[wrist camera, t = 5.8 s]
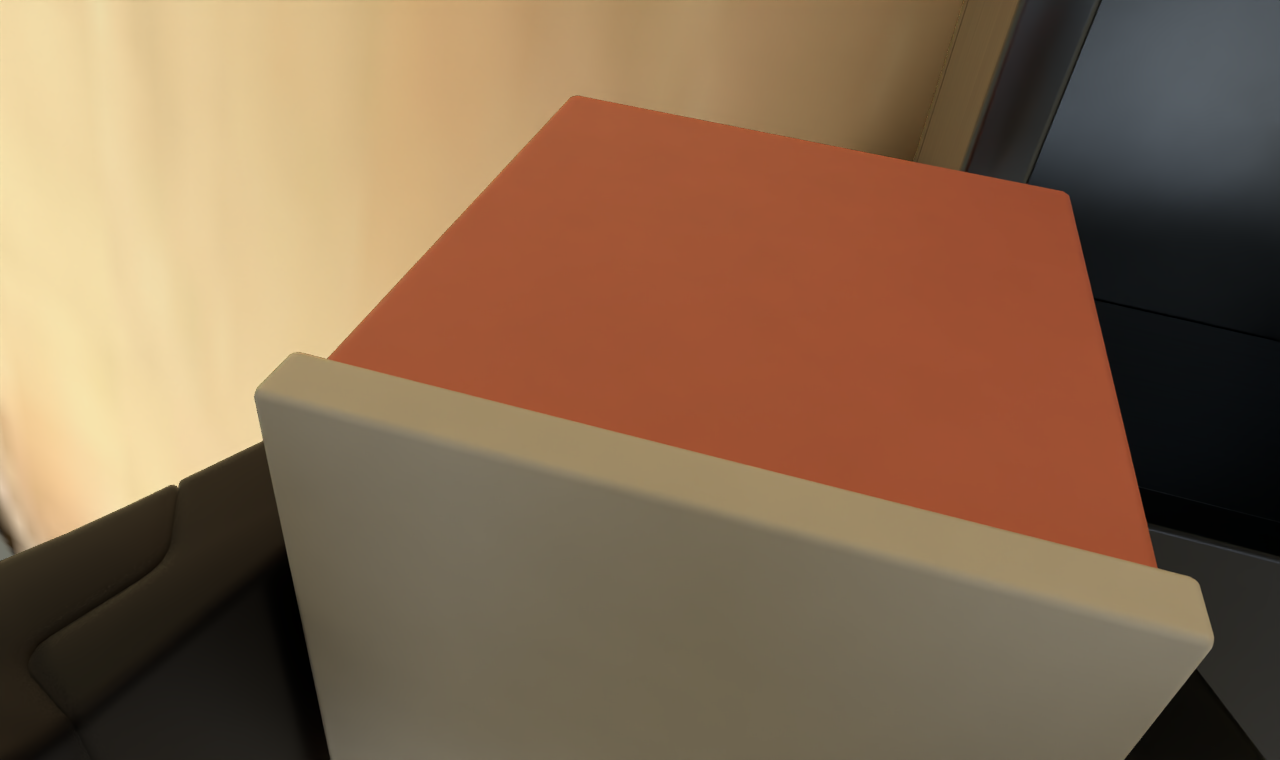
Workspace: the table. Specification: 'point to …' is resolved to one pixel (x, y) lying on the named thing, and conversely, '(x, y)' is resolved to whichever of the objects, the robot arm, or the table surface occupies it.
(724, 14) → the table surface
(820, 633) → the cream-topped orange box
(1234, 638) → the cabinet
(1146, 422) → the drawer
